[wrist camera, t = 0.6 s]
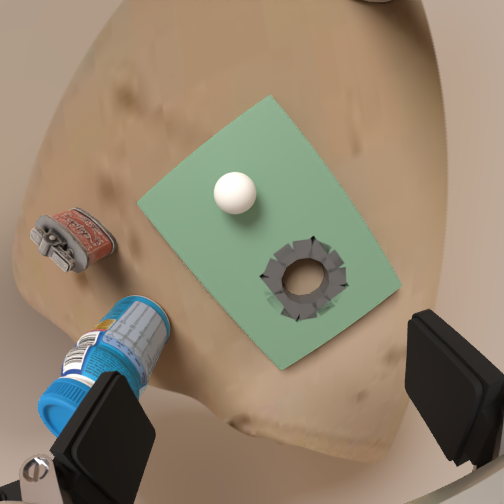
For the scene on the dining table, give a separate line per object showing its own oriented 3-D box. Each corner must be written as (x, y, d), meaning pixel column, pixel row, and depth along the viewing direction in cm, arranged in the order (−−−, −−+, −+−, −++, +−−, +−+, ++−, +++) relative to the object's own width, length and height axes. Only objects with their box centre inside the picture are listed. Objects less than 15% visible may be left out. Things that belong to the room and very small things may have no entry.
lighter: (66, 222, 33) (16, 238, 23) (76, 201, 32) (26, 211, 23) (109, 260, 34) (66, 288, 25) (121, 239, 34) (79, 262, 24)
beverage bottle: (178, 305, 36) (117, 420, 16) (166, 357, 38) (116, 473, 18) (117, 283, 35) (20, 370, 16) (110, 336, 37) (36, 433, 18)
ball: (239, 164, 29) (237, 162, 25) (264, 195, 30) (265, 198, 26) (208, 189, 30) (201, 190, 26) (233, 219, 30) (229, 225, 27)
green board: (144, 200, 32) (136, 202, 30) (268, 100, 30) (270, 94, 27) (279, 359, 37) (281, 370, 35) (393, 278, 35) (402, 285, 32)
